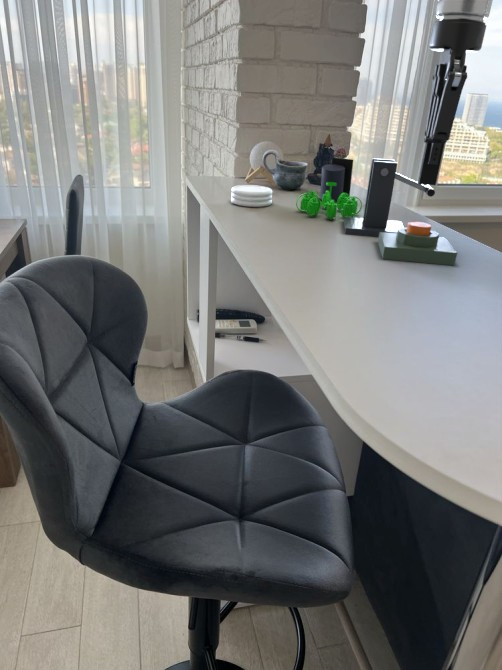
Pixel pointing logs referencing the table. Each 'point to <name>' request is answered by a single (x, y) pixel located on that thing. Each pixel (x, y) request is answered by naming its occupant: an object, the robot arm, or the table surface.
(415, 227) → the stop button
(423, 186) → the switch lever
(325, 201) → the chandelier
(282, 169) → the mug
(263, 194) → the white stacked round discs
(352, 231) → the switch bracket
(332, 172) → the speaker
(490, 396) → the table surface
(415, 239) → the stop box
